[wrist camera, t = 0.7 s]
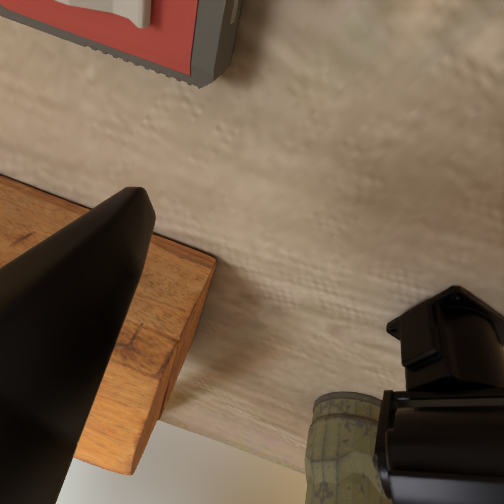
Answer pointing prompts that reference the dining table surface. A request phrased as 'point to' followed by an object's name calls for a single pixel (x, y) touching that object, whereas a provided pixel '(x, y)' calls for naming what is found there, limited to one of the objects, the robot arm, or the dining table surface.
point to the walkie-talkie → (143, 31)
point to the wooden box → (133, 330)
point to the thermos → (343, 451)
